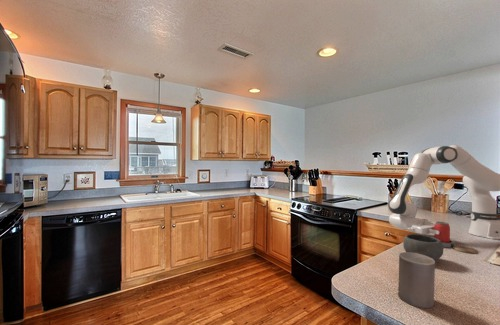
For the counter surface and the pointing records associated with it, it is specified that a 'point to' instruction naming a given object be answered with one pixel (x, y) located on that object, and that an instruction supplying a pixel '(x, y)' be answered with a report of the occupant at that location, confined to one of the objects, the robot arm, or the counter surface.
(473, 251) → the walnut coaster
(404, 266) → the pillar candle
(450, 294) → the counter surface
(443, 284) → the counter surface
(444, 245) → the can collar
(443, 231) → the beer can
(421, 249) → the bowl
